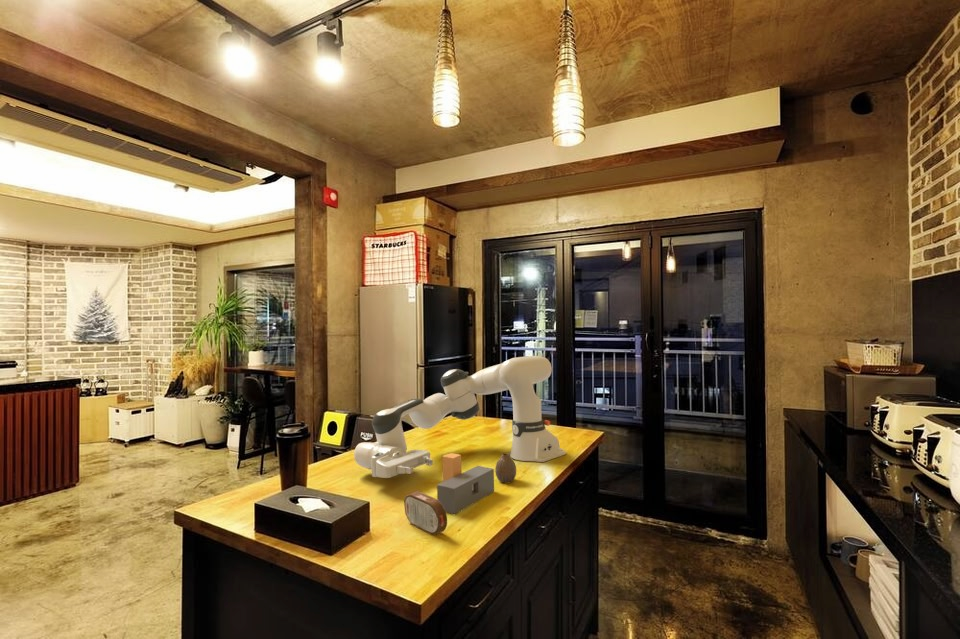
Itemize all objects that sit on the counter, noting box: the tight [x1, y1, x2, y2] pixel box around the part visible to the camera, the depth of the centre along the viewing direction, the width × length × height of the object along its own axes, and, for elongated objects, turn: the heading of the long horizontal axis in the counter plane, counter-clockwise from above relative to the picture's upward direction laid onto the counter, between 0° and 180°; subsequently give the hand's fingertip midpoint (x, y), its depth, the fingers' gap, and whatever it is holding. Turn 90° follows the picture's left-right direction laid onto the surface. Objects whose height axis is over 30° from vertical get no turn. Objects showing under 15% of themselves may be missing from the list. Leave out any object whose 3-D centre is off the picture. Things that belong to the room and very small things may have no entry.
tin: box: [403, 490, 448, 536], centre depth 114 cm, size 15×3×8 cm, turn 45°
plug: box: [442, 452, 474, 491], centre depth 134 cm, size 9×4×12 cm, turn 55°
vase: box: [494, 453, 517, 484], centre depth 148 cm, size 7×7×9 cm
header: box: [436, 465, 495, 515], centre depth 132 cm, size 6×20×7 cm, turn 145°
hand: (421, 466), depth 142 cm, fingers open, 8 cm apart
